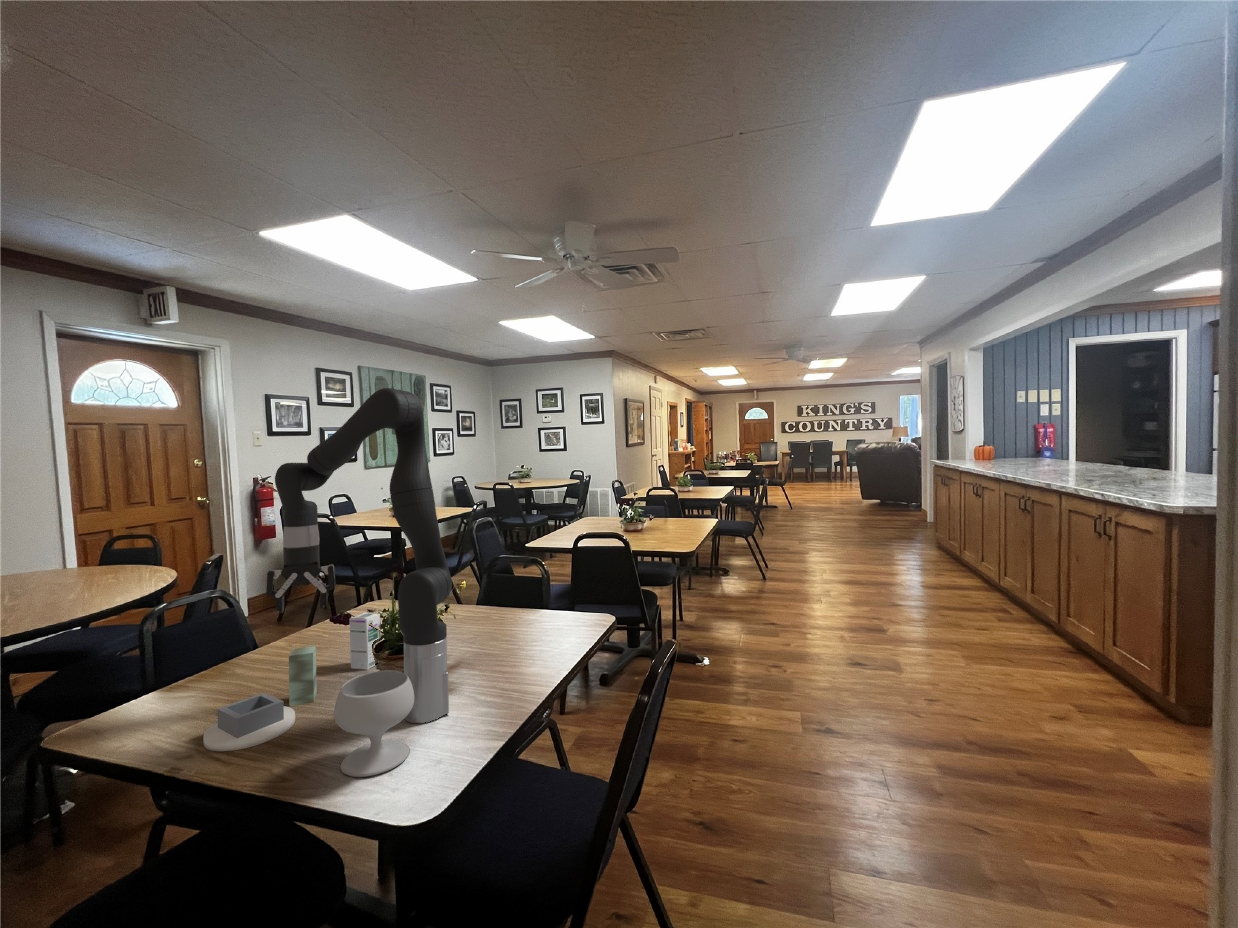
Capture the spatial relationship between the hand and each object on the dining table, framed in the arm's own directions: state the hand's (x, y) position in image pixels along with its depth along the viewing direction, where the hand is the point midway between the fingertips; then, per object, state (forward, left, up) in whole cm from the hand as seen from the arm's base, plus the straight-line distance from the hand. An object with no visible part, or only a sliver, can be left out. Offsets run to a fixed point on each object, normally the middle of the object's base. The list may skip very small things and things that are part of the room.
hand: (302, 609), depth 123 cm
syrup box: (-13, -17, -22) cm, 31 cm away
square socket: (+8, +12, -22) cm, 26 cm away
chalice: (-17, +36, -22) cm, 46 cm away
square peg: (0, 0, -22) cm, 22 cm away
